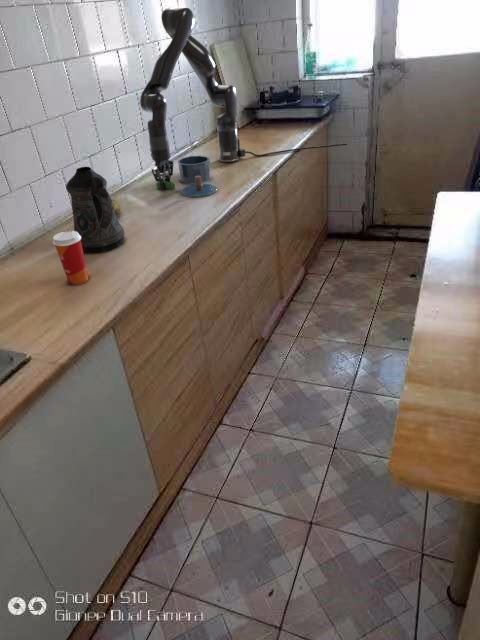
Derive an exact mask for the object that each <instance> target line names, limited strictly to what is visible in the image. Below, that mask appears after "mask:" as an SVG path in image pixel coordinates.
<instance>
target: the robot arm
mask: <svg viewBox="0 0 480 640" xmlns="http://www.w3.org/2000/svg"><path fill="white" fill-rule="evenodd" d="M161 24H162V26H163V29H164V31H165V32H166V34H167V35H168V37H170V38H171V41H170V42H169V44H168V45H167V46H166V48H165V49H164V50H163V51H162V53H161V54H160V55H159V56H158V58H157V59H156V62H155V63H154V66H153V70H152V73H151V76H150V79H149V81H148V82H147V83H146V85H145V87H144V89H143V91H142V93H141V95H140V97H139V98H140V100H139V106H140V108H141V109H142V111H144V112H145V113H151V114H152V117H151V119H149V120H148V121H147V131H148V139H149V141H148V142H149V148H150V153H151V159H152V160H153V161H154V168H151V173H152V175H153V178H154V180H155V182H156V183H157V182H160V188H161V189H160V190H161V191H166V190H167V189H166V185H165V181H167V182H171V178H172V176H173V175H174V160H170V159H171V151H170V150H171V149H170V142H169V138H168V133H167V127H166V120H167V111H168V109H167V108H168V106H167V105H168V104H167V100H166V98H165V97H164V95H163V94H161V93H162V92H164V91H166V90H167V89H168V87H169V86H170V83H171V79H172V76H173V73H174V70H175V67H176V65H177V63H178V60H179V58H180V57H181V54H183V56H184V57H185V59H186V61H187V62H188V64H189V65H190V67H191V68H192V70H193V72H194V73H195V75H196V76H197V78H198V79H199V81H200V83H201V84H202V86H203V87H204V89H205V91H206V94H207V95H208V98H209V99H210V101H211V103H212V105H214V106H215V107H217V108H224V113H222V114H220V115H217V117H216V128H217V141H218V151H219V152H218V153H219V161H220V162H221V163H234V162H237V161H240V160H241V158H244V157H246V154H250V155H252V156H254V157H265V156H269V155H274V154H281V153H288V152H293V151H294V152H295V151H300V150H301V151H302V150H303V151H304V150H312V149H321V148H330V147H340V146H348V142H344V143H336V144H335V143H334V144H325V145H316V146H315V145H314V146H306V147H297V148H291V149H284V150H278V151H270V152H267V153H263V154H256V153H254V152H252V151H249V150H247V151H246V149H244V148H241V144H240V138H239V137H238V126H237V116H238V97H237V96H238V95H237V90H236V87H235V86H234V85H232V84H219V83H218V82H217V80H215V77H214V76H215V72H216V71H215V70H216V63H215V60H214V58H213V57H212V54H211V53H210V51H209V50H208V49H207V48H206V46H205V45H203V44H202V43H201V42H200V41H199V40H198V39H196V37H194V36H192V32H193V29H194V25H195V15H194V13H193V11H192V9H191V8H189V7H186V6H177V5H171V6H167V7H164V8H163V10H162V12H161Z"/></svg>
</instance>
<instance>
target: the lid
mask: <svg viewBox="0 0 480 640" xmlns="http://www.w3.org/2000/svg"><path fill="white" fill-rule="evenodd" d="M195 182H196V183H195V184H192V185H188V186H185V187H184V188H183V189H181V195H183V196H184V197H188V198H204V197H208V196H211V195H214V194H215V193H216V192H217V191H218V187H217V186H216V185H214V184H209V183H203V182H201V176H195Z"/></svg>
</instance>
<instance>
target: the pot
mask: <svg viewBox="0 0 480 640" xmlns="http://www.w3.org/2000/svg"><path fill="white" fill-rule="evenodd" d="M177 168H178V176H179V181H180V182H181V183H184V184H196V182H195V176H201V183H204V182H208V181H209V180H211V179H212V171H211V160H210V158H209V156H206V155H191V156H190V155H189V156H185V157H182V158H179V159H177Z"/></svg>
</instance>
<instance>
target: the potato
mask: <svg viewBox="0 0 480 640" xmlns="http://www.w3.org/2000/svg"><path fill="white" fill-rule="evenodd" d="M112 203H113V209H114V212H115V214H116V216H118V215H120V213H121V205H120V204H119V202H118V201H117V200H115V199H112Z"/></svg>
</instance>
